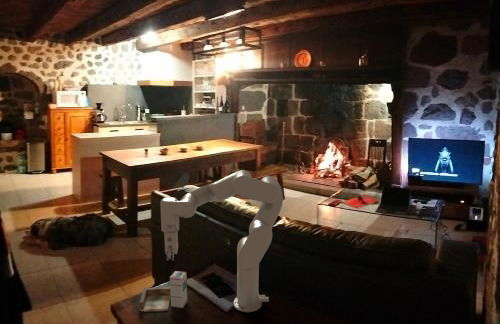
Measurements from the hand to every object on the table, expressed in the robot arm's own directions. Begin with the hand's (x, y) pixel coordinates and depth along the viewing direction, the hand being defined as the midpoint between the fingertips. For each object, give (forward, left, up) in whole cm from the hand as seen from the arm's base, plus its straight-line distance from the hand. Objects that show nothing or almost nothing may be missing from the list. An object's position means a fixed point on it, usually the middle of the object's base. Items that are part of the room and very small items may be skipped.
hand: (171, 263), depth 176 cm
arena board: (+8, -2, -20) cm, 22 cm away
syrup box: (-3, -1, -20) cm, 20 cm away
